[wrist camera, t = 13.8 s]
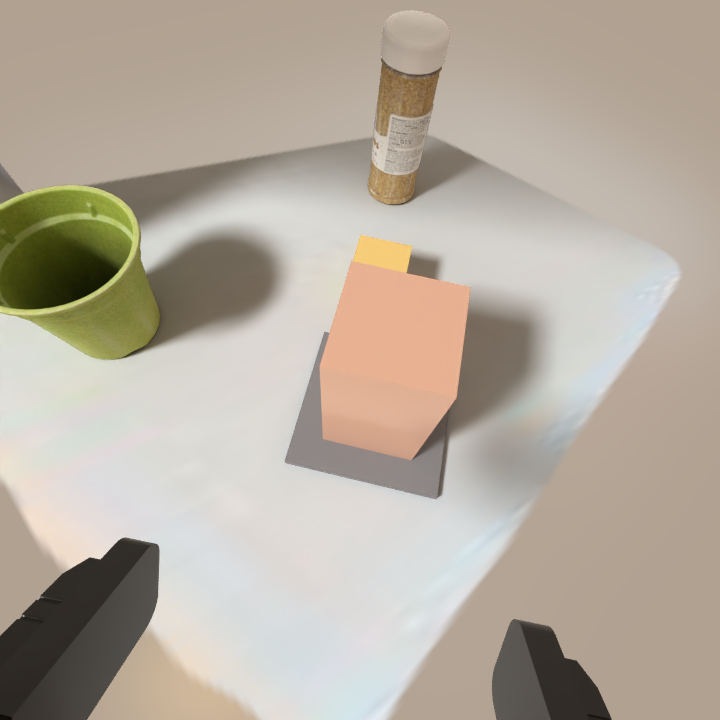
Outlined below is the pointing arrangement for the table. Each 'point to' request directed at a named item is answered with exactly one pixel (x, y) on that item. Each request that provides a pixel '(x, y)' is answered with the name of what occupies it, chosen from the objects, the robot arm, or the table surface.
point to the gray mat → (362, 450)
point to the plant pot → (77, 269)
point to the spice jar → (405, 101)
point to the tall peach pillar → (391, 359)
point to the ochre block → (383, 253)
